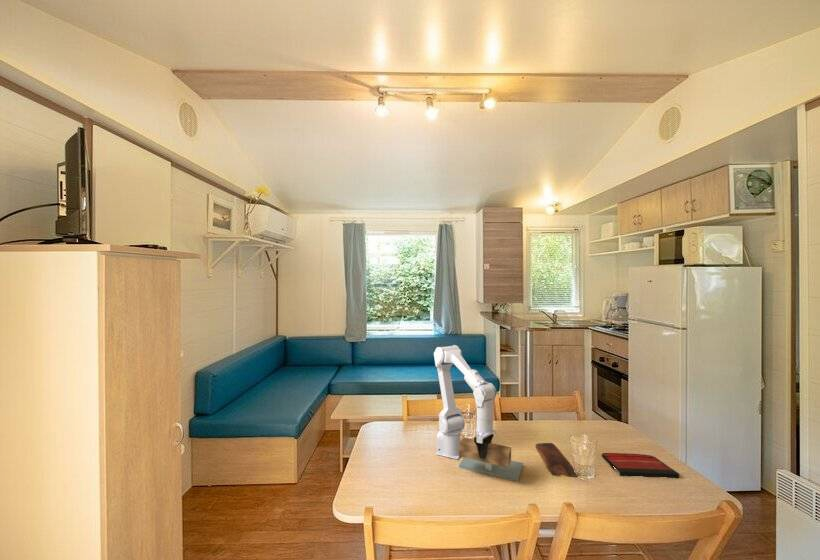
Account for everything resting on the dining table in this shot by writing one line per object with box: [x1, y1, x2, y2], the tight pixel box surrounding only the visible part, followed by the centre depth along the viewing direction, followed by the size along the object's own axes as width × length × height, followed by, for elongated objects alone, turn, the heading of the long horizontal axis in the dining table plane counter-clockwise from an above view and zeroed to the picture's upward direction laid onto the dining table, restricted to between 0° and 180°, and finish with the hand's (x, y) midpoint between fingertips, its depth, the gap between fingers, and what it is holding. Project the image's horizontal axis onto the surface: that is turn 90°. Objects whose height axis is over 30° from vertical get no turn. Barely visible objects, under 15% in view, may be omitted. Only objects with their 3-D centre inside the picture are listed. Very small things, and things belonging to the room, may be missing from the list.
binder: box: [601, 452, 680, 479], centre depth 137 cm, size 16×2×21 cm
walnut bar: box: [459, 437, 512, 468], centre depth 129 cm, size 18×5×5 cm, turn 64°
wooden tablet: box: [535, 442, 578, 478], centre depth 143 cm, size 26×2×10 cm
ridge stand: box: [458, 457, 524, 482], centre depth 137 cm, size 22×12×4 cm, turn 65°
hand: (484, 454), depth 129 cm, fingers closed on walnut bar, 5 cm apart
